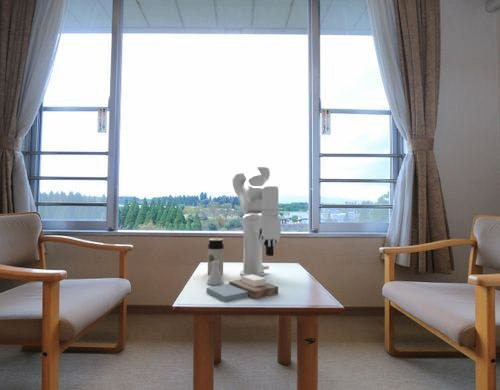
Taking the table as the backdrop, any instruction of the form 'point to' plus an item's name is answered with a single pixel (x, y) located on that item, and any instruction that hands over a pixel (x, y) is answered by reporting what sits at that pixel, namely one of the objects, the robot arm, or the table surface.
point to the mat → (227, 292)
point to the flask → (215, 275)
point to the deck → (256, 289)
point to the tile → (254, 280)
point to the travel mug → (215, 253)
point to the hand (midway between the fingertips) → (269, 255)
